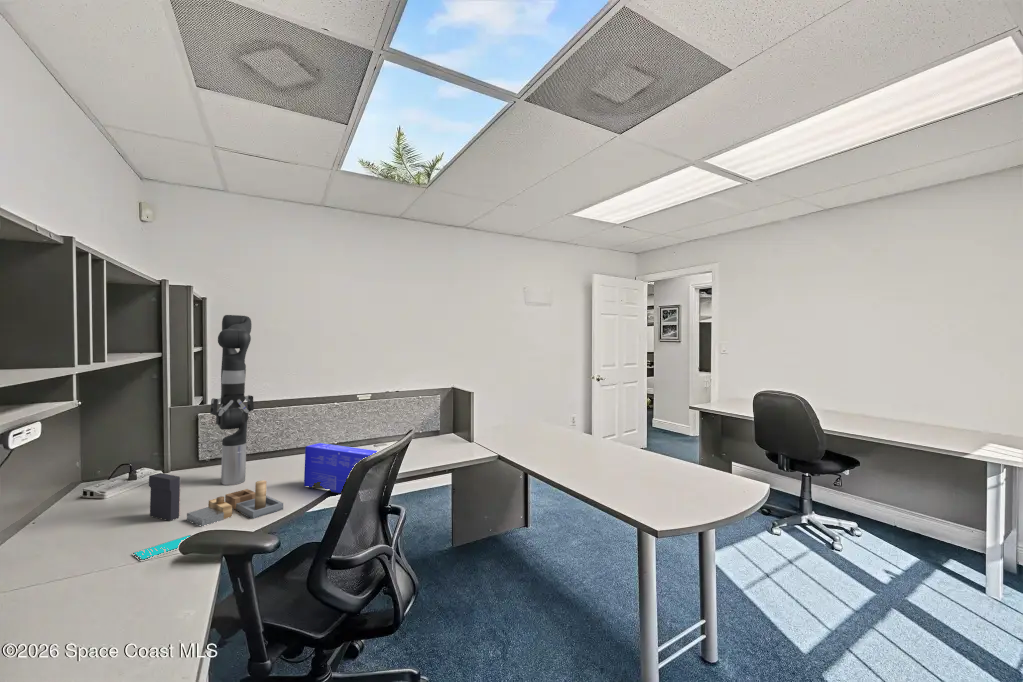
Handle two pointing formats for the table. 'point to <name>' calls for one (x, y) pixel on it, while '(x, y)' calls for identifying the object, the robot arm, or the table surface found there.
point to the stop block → (221, 506)
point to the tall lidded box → (164, 496)
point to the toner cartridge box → (331, 464)
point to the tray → (250, 511)
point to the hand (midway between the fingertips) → (232, 423)
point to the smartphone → (170, 545)
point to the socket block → (239, 497)
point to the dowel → (260, 494)
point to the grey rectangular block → (205, 516)
